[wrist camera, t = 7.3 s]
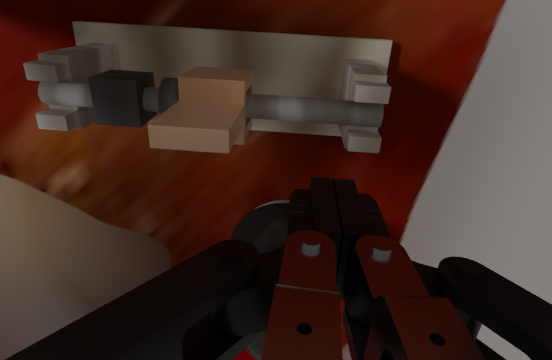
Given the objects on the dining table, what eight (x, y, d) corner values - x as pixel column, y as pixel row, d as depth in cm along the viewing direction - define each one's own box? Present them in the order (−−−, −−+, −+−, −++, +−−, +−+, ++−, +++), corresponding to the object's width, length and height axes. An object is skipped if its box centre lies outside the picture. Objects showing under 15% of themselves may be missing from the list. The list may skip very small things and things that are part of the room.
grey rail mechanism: (95, 115, 34) (24, 153, 25) (79, 21, 30) (-10, 28, 22) (373, 135, 33) (396, 181, 24) (389, 39, 29) (424, 55, 21)
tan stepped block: (198, 122, 27) (152, 172, 19) (195, 66, 25) (144, 96, 17) (252, 125, 27) (229, 178, 19) (253, 69, 25) (228, 101, 17)
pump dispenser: (352, 200, 36) (381, 321, 22) (316, 278, 40) (321, 419, 27) (252, 169, 35) (218, 275, 22) (226, 252, 40) (185, 383, 26)
